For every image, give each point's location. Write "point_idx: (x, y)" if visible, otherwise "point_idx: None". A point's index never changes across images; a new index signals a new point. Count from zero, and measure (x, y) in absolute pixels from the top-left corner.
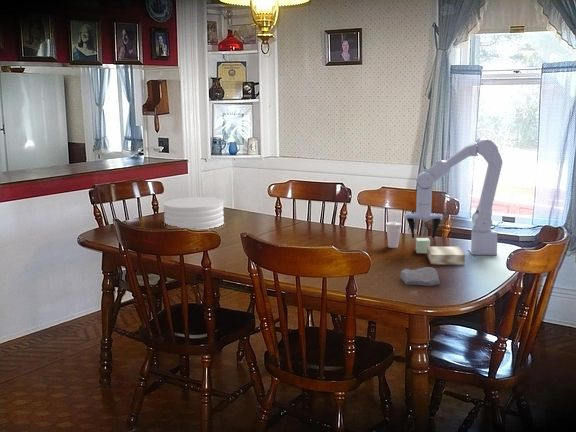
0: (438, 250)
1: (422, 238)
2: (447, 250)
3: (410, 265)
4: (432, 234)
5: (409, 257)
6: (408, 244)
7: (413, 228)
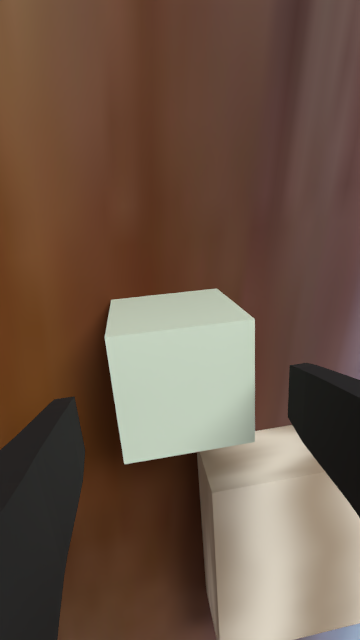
0: (280, 568)
1: (182, 354)
2: (339, 555)
3: (95, 634)
4: (311, 442)
5: None
6: (23, 77)
7: (51, 604)
